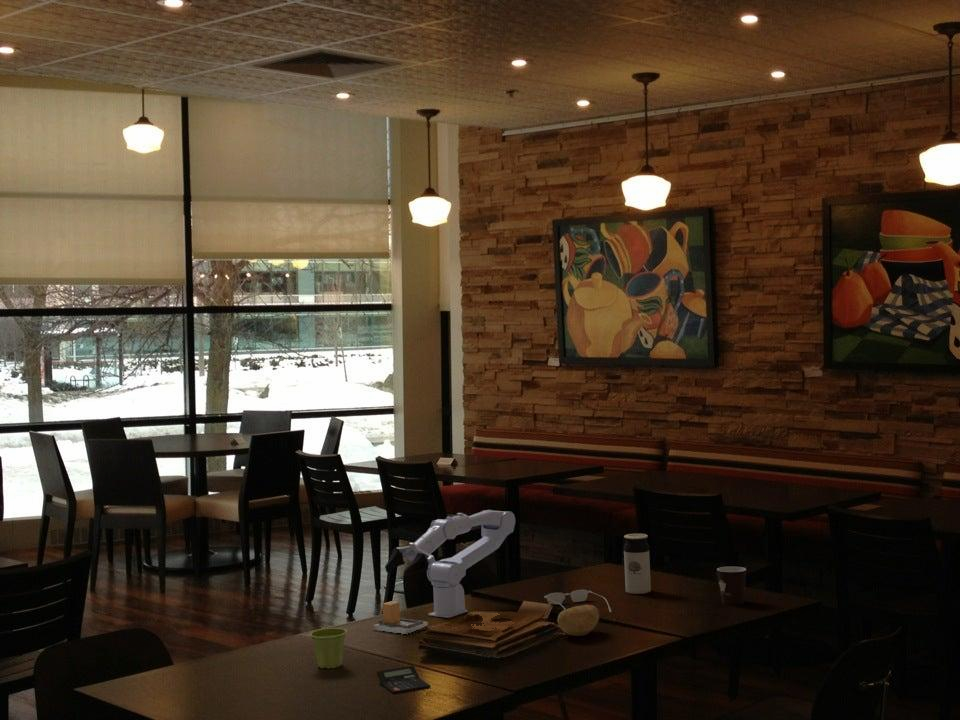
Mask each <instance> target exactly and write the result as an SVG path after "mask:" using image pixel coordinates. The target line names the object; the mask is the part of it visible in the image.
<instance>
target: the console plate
mask: <svg viewBox="0 0 960 720" xmlns="http://www.w3.org/2000/svg"><path fill="white" fill-rule="evenodd" d="M427 625H428V626H429V621H424V620H421V619H420V620H415V619H410V618H409V619H408V618H403V617H400V621H398V622H395V623H385V622H383V619H379V620H378V623H376V624H373V631H375V630H377V631H376V632H382V631H385V632H384V633H389V632H393V633H392V634H396V633H401V634H400V635H403V634H407V635H409V634H408V633H410V634H412V633H411V632H413V633H415V632H414V631H416V630H419V629H421V628H422V627H424V626H427ZM421 630H422V629H421ZM419 631H420V630H419ZM416 632H417V631H416Z"/></svg>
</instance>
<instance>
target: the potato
mask: <svg viewBox="0 0 960 720" xmlns="http://www.w3.org/2000/svg"><path fill="white" fill-rule="evenodd" d="M599 620H600V610H599V609H598V607H596V606H595V605H593V604H583V605H576V606H573V607H570V608H567V609H566V608H565V610H564V609H563V610H561V611H560V612H559V614H558V616H557V624H558V627H559V628H560V629H561V631H562V632H563V633H564V634H566V635H569V636H573V637H574V636H575V637H576V636H577V637H583V636H586V635H588V634H589V633H591V632H592V631H593V630H594V629H595V628H596V626H597V624H598V623H599Z"/></svg>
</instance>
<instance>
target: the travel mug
mask: <svg viewBox="0 0 960 720" xmlns="http://www.w3.org/2000/svg"><path fill="white" fill-rule="evenodd" d="M623 537H624V539H625V542H624V545H623V556H624V557H623V561H624V563H623V564H624V580H625V581H624V585H625V592H626V593H628V594H632V595H643V594H649V593H650V592H651V588H652V585H651V565H650V564H651V563H650V562H651V561H650V545H649V543H648V542H647V541H648V537H649V535H647V534H646V533H628V534H625V535H624V536H623Z"/></svg>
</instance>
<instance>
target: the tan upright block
mask: <svg viewBox="0 0 960 720" xmlns="http://www.w3.org/2000/svg"><path fill="white" fill-rule="evenodd" d="M381 604H382V605H381V606H382V607H381V608H382V620H383V622H385V623H395V622H398V621H400V618H401V614H400V613H401V612H400V602H399V601H395V600H391V601H388V602H384V603H381Z"/></svg>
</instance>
